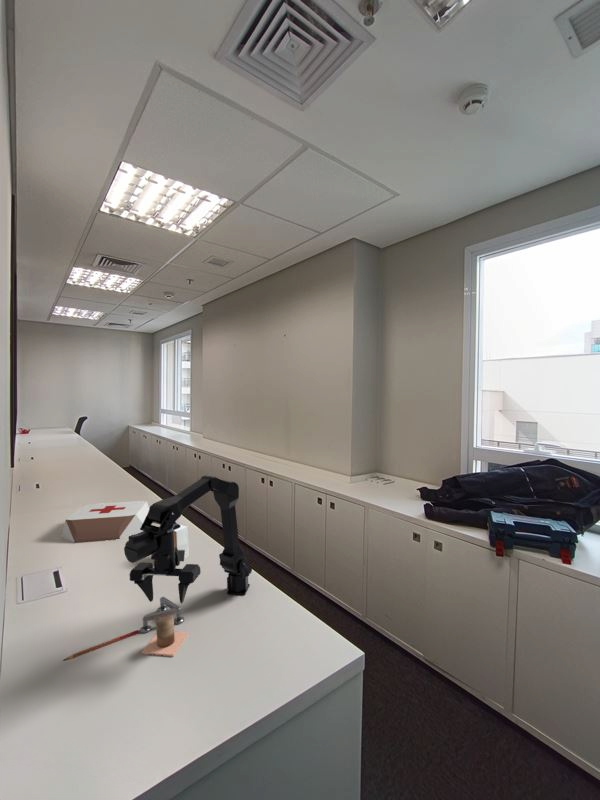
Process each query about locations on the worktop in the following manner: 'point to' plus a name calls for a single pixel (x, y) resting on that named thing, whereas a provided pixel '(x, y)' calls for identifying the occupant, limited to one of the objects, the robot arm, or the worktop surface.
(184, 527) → the small box
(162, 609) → the dark grey bent piece
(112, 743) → the worktop surface
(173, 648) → the terracotta mat
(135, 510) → the first aid kit
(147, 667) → the worktop surface
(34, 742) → the worktop surface
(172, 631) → the wooden dowel cylinder
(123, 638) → the pencil
